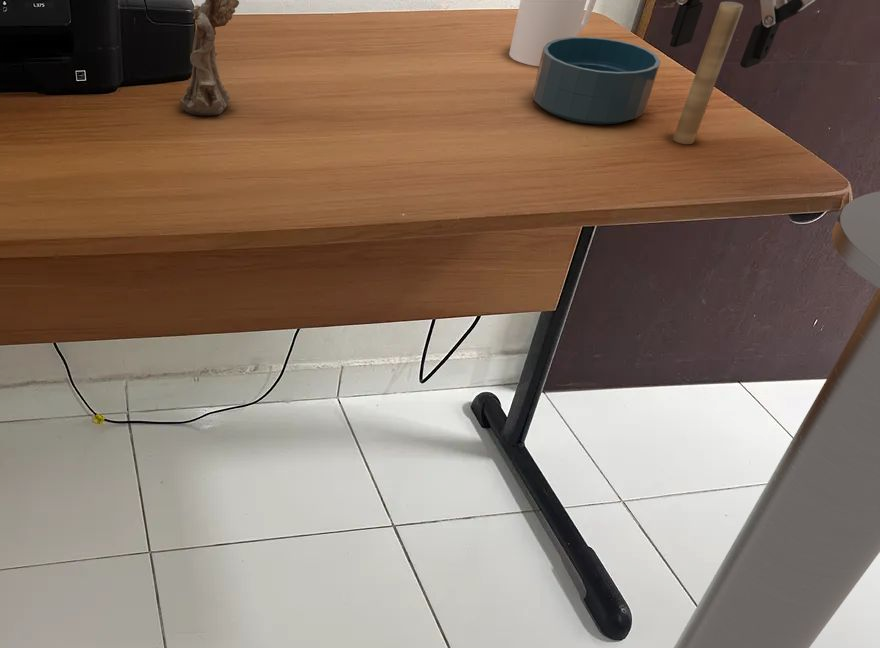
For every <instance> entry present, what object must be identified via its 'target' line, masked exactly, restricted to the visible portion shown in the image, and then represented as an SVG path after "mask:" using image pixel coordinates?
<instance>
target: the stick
mask: <svg viewBox="0 0 880 648" xmlns="http://www.w3.org/2000/svg"><path fill="white" fill-rule="evenodd" d="M743 9H744V5H743V4H742V3H739V2H736V1H721V2H720V3H719V6H718V9H717V12H716V15H715V18H714V20H713V24H712V26H711V29H710V32H709V35H708V38H707V41H706V43H705V47H704V49H703V52H702V55H701V57H700V61H699V63H698V66H697V69H696V72H695V75H694V78H693V80H692V84H691V86H690V89H689V92H688V95H687V98H686V100H685V102H684V106H683V109H682V112H681V115H680V118H679V121H678V123H677V126H676V129H675V132H674V135H673V138H672V139H673V141H674V142H676V143H678V144H681V145H691V144H694V142H695V140H696V137H697V136H698V135H697V134H698V132H699V129H700V126H701V123H702V121H703V119H704V115H705V113H706V110H707V108H708V105H709V102H710V99H711V97H712V94H713V91H714V88H715V86H716V83H717V80H718V77H719V74H720V71H721V69H722V67H723V63H724V61H725V58H726V55H727V53H728V51H729V48H730V44H731V42H732V40H733V39H732V38H733V36H734V33H735V31H736V28H737V26H738V22H739V20H740V17H741V14H742V12H743Z"/></svg>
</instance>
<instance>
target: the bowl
mask: <svg viewBox="0 0 880 648" xmlns="http://www.w3.org/2000/svg"><path fill="white" fill-rule="evenodd" d="M660 66H661V59H660V57H659V55H657V54H656V53H655V52H653V51H652V50H650V49H648V48H645V47H643V46H641V45H637V44H634V43H630V42H627V41H622V40H618V39H612V38H605V37H595V36H594V37H593V36H577V37H568V38H562V39H556V40H553V41H551V42H548V43H547V44H546V45H545V46H544V48H543V51H542V56H541V60H540V64H539V66H538V69H537V73H536V78H535V81H534V86H533V90H532V95H531V96H532V99H533V101H534V102H535V103H536V104H537V105H538V106H539V107H540V108H542V109H543V110H544V111H546V112H548V113H549V114H550V115H553V116H556V117H558V118H561V119H564V120H568V121H571V122H575V123H581V124H590V125H615V124H622V123H625V122H628V121H630V120H635V119H638V118H639V117H641V116H643V115H644V113H645V111H646V109H647V106H648V103H649V100H650V97H651V94H652V90H653V86H654V84H655V81H656V77H657V75H658V72H659V68H660Z"/></svg>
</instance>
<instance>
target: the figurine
mask: <svg viewBox="0 0 880 648" xmlns="http://www.w3.org/2000/svg"><path fill="white" fill-rule="evenodd" d="M239 5H240V0H205V1H204V2H203V3H201V5H199V4H196V5H194V7H193V17H192V19H193V20H194V22H195V24H196V29H195V31H194V37H193V43H192V51H191V53H190V56H189V61H190V64H191V66H192V71H191V76H190V81H189V84H188V87H187V88H186V90H185V93H184V94H183V95H182V97H181V98H180V100H179V101H180V102H179V103H180V105H182V107H183V108H184V112H186V113H187V114H190V115H195V116H205V117H206V116H217V115H220V114H222V113H223V112H225V110H226V108H227V106H228V104H229V101H230V99H231V93H229V91H228V90H226V88H225V86H224V85H223V82H222V80H221V78H220V77H221V76H220V73H219V69H218V65H217V56H218V52H216V46H215V40H216V35H217V31H216V28H220V27H225V26H226V25H227V24H228V23H229V21H231V20H232V18H233V15H234V14H235V13H236V8H237V7H238V6H239Z"/></svg>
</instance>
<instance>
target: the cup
mask: <svg viewBox="0 0 880 648" xmlns="http://www.w3.org/2000/svg"><path fill="white" fill-rule="evenodd" d="M596 2H597V0H589V2H588V4H587V0H520V1H519V4H518V5H519V6H518V10H517V16H516V18H515V19H516V20H515V24H514V29H513V34H512V39H511V44H510V48H509V52H508V53H509V55H508V56H509V57H510V58H511V59H512V60H514V61H516V62H518V63H521V64H525V65H527V66H534V67H539V64H540V60H541V56H542V51H543V48H544V46H545V45H546V44H547V43H548V42H551V41H553V40H556V39H562V38H568V37H578V36H579V32H583V30H584V29H585V28H586V26H587V25H588V24H589V21H590V19H591V16H592V13H593V11H594V8H595V5H596ZM586 4H587V6H586ZM585 8H586V10H585Z"/></svg>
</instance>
